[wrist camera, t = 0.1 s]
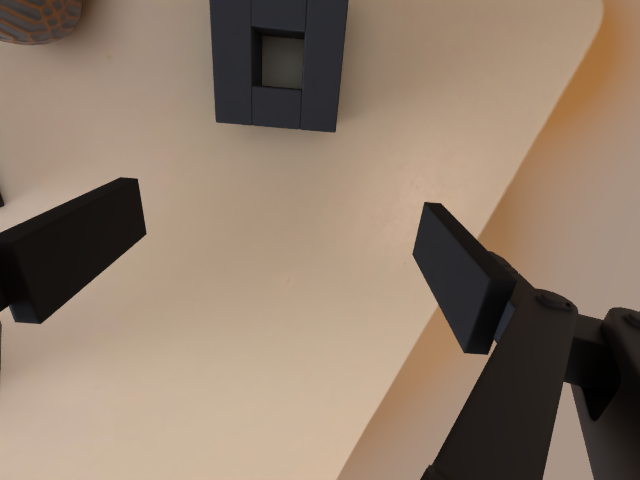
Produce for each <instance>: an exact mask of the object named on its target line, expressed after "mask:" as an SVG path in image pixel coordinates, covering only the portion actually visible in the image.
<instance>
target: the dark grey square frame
mask: <svg viewBox="0 0 640 480" xmlns="http://www.w3.org/2000/svg"><path fill="white" fill-rule="evenodd" d="M347 10H348V0H210V18H211V38H212V57H213V76H214V96H215V115H216V122H218V123H230V124H241V125H253V126H265V127H276V128H288V129H301V130H311V131H323V132H335V131H336V122H337V112H338V102H339V92H340V81H341V71H342V61H343V51H344V41H345V30H346V20H347ZM262 35H264V36H274V37H285V38H295V39H305V43H304V62H303V80H302V89H294V88H283V87H272V86H262Z"/></svg>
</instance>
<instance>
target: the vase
mask: <svg viewBox="0 0 640 480" xmlns="http://www.w3.org/2000/svg"><path fill="white" fill-rule="evenodd" d="M81 9H82V0H0V41H3V42H8V43H13V44H21V45H43V44H48V43H52V42H55V41H57V40H60V39H62V38H64V37H65V36H66V35H68V34H69V33H70V32H71V31H72V30H73V29H74V28H75V26H76V25H77V23H78V21H79V18H80V14H81Z"/></svg>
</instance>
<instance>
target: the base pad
mask: <svg viewBox="0 0 640 480" xmlns="http://www.w3.org/2000/svg"><path fill="white" fill-rule="evenodd" d="M3 206H4V203H3V200H2V198H1V195H0V207H3Z"/></svg>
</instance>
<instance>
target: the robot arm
mask: <svg viewBox="0 0 640 480" xmlns="http://www.w3.org/2000/svg"><path fill="white" fill-rule="evenodd" d="M145 235H146V227H145V221H144V215H143V209H142V202H141V196H140V190H139V184H138V179H135V178H122V177H120V178H118V179H116V180H114V181H112V182H109V183H107V184H105V185H103V186H101V187H98V188H96V189H94V190H92V191H90V192H88V193H85V194H83V195H81V196H79V197H77V198H75V199H72V200H70V201H68V202H66V203H64V204H62V205H59V206H57V207H55V208H53V209H51V210H49V211H46V212H44V213H42V214H40V215H38V216H36V217H33V218H31V219H29V220H27V221H25V222H22V223H20V224H18V225H16V226H14V227H12V228H9V229H7V230H5V231H3V232H1V233H0V312H1V311H2V310H4V309H5V308H6V307H8V306H9V308H10V310H11V313H12V315H13V318H14V320H15V322H20V323H35V324H41V323H43V322H44V321H45V320H46V319H47V318H48V317H50V316H51V315H52V314H53V313H54V312H55V311H57V310H58V309H59V308H60V307H61V306H63V305H64V304H65V303H66V302H67V301H68V300H70V299H71V298H72V297H73V296H74V295H75V294H77V293H78V292H79V291H80V290H81V289H83V288H84V287H85V286H86V285H87V284H88V283H90V282H91V281H92V280H93V279H94V278H95V277H97V276H98V275H99V274H100V273H101V272H103V271H104V270H105V269H106V268H107V267H108V266H110V265H111V264H112V263H113V262H114V261H115V260H117V259H118V258H119V257H120V256H121V255H123V254H124V253H125V252H126V251H127V250H128V249H130V248H131V247H132V246H133V245H134V244H135V243H137V242H138V241H139V240H140V239H141V238H143V237H144V236H145ZM412 255H413V257H414V259H415V260H416V262H417V264H418V266H419V268H420V270H421V272H422V274H423V276H424V278H425V279H426V281H427V283H428V285H429V287H430V289H431V291H432V293H433V295H434V297H435V299H436V300H437V302H438V304H439V306H440V308H441V310H442V312H443V314H444V316H445V318H446V320H447V321H448V323H449V325H450V327H451V329H452V331H453V333H454V335H455V337H456V339H457V341H458V342H459V344H460V346H461V348H462V350H463V352H464V353H470V354H485V355H488V353H489V351H490V348H491V346H492V343H493V341H494V340H495V341H496V343H497V345H496V347H495V349H494V351H493V353H492V354H491V356H490V358H489V360H488V362H487V363H486V365H485V367H484V369H483V371H482V373H481V375H480V377H479V379H478V380H477V382H476V384H475V386H474V388H473V390H472V391H471V394H470V395H469V397H468V399H467V401H466V403H465V405H464V407H463V409H462V410H461V412H460V414H459V416H458V418H457V419H456V422H455V423H454V425H453V427H452V429H451V431H450V433H449V435H448V436H447V438H446V440H445V442H444V444H443V446H442V447H441V449H440V452H439V453H438V455H437V457H436V459H435V460H434V462H433V464H432V465H429V466H428V468H427V469H426V470H425V472H424V474H423V476H422V478H421V479H420V480H542V479H543V474H544V469H545V465H546V460H547V456H548V451H549V446H550V441H551V437H552V432H553V428H554V423H555V418H556V414H557V409H558V405H559V400H560V395H561V391H562V386H563V382H567V383H570V384H571V388H572V392H573V396H574V400H575V404H576V408H577V412H578V416H579V420H580V424H581V429H582V432H583V437H584V440H585V445H586V448H587V453H588V457H589V461H590V465H591V469H592V473H593V477H594V480H640V312H637V311H634V310H631V309H626V308H620V307H619V308H612V309H610V310H609V311H608V313H607V315H606V317H605V319H604V320H601V319H596V318H593V317H588V316H584V315H580V314H578V309H577V307H576V306H575V305H574V304H573V303H572V302H571V301H569V300H568V299H566V298H565V297H563V296H560V295H558V294H556V293H554V292H550V291H547V290H542V289H535V288H534V287H533V286H532V285H531V284H530V283H529V282H528V281H527V280H526V279H524V278H523V277H522V276H521V275H520V274H518V272H517V271H516V270H515V269H514V268H513V267H511V265H510V264H509V263H508V262H507V261H506V260H505V259H504V258H502V257H500V256H499V255H496V254H495V253H493V252H491V251H487V250H486V249H485V248H484V247H483V246H482V245H481V244H480V243H479V242H478V241H477V240H476V239H475V238H474V237H473V236H472V235H471V234H470V233H469V232H468V231H467V229H466V228H465V227H464V226H463V225H462V224H461V223H460V222H459V221H458V220H457V219H456V218H455V217H454V216H453V215H452V214H451V213H450V212H449V211H448V210H447V209H446V208H445V207H444V206H443V205H442V204H441V203H429V202H424V206H423V211H422V215H421V219H420V224H419V228H418V232H417V237H416V241H415V245H414V250H413V254H412ZM1 331H2V324H1V322H0V369H1Z"/></svg>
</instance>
